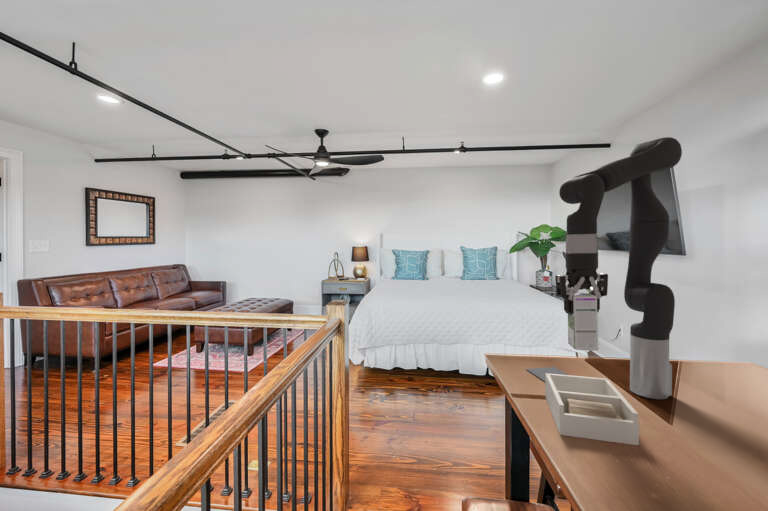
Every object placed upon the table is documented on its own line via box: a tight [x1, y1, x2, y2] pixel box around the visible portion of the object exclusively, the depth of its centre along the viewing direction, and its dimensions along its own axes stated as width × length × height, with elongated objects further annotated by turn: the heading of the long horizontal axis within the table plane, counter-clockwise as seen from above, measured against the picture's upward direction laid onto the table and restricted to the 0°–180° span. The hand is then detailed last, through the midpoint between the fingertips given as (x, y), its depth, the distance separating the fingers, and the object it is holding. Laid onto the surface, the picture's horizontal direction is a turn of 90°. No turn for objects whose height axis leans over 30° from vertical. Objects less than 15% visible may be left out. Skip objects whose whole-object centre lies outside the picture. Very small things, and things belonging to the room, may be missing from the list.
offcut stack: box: [567, 399, 623, 420], centre depth 82 cm, size 5×12×6 cm, turn 73°
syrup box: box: [567, 292, 599, 351], centre depth 91 cm, size 6×6×14 cm
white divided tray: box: [544, 373, 640, 446], centre depth 88 cm, size 21×16×7 cm
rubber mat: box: [525, 366, 569, 383], centre depth 117 cm, size 11×11×1 cm
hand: (581, 312), depth 91 cm, fingers closed on syrup box, 7 cm apart
